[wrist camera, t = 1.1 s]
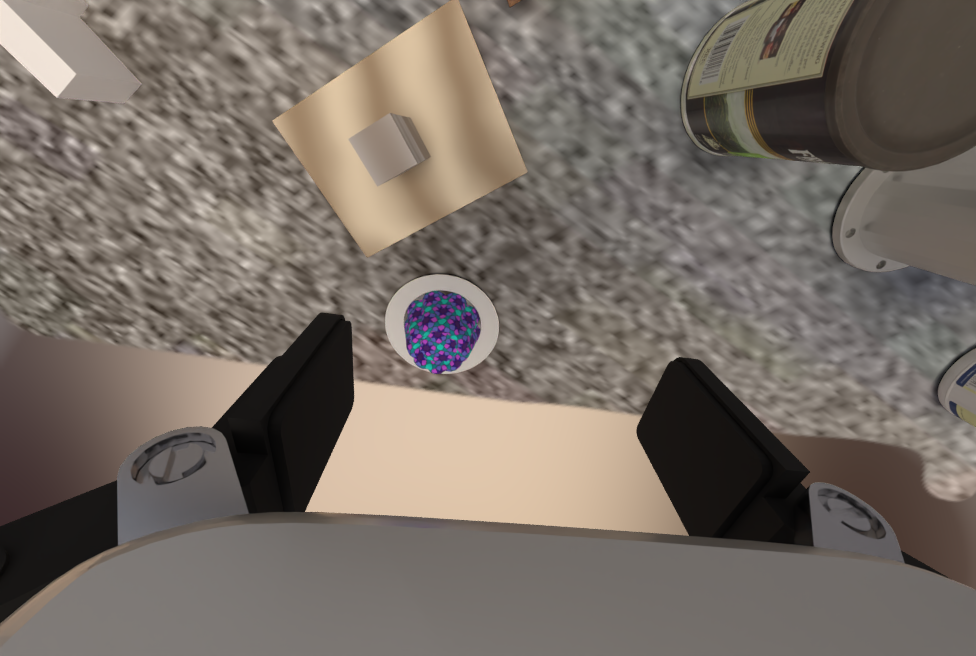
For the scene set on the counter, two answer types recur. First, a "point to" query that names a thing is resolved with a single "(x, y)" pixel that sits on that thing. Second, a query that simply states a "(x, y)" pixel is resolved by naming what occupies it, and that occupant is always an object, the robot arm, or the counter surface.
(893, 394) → the counter surface
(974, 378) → the supplement tub
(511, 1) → the orange block
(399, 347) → the pudding
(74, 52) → the white stepped block
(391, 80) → the post stand
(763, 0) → the coffee can
